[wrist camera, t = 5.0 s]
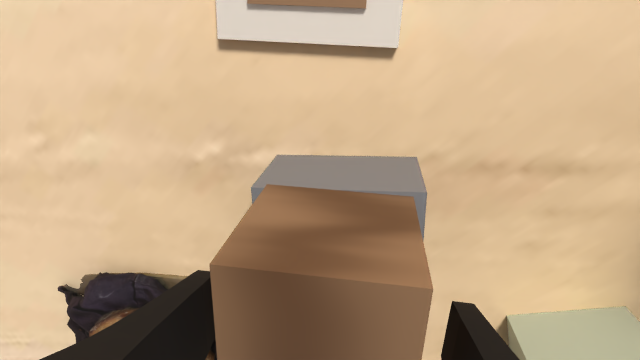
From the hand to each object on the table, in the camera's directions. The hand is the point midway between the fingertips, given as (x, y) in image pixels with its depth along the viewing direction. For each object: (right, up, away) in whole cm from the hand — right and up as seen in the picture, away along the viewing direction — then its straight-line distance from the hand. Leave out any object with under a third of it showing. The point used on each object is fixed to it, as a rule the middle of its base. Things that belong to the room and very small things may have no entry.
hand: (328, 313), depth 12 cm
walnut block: (0, +1, +2) cm, 3 cm away
